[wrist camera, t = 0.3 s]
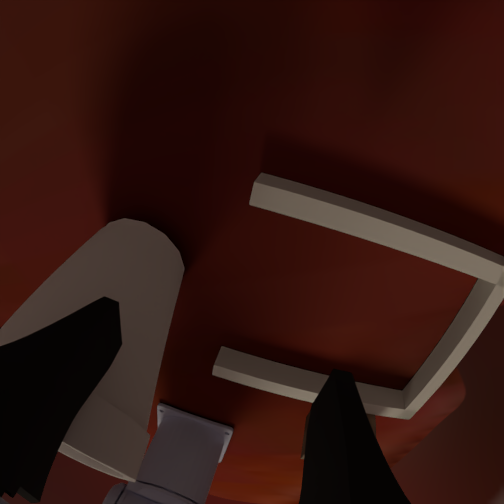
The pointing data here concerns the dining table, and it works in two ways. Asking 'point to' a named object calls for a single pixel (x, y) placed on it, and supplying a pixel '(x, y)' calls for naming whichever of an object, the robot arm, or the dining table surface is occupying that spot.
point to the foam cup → (132, 330)
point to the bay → (395, 236)
